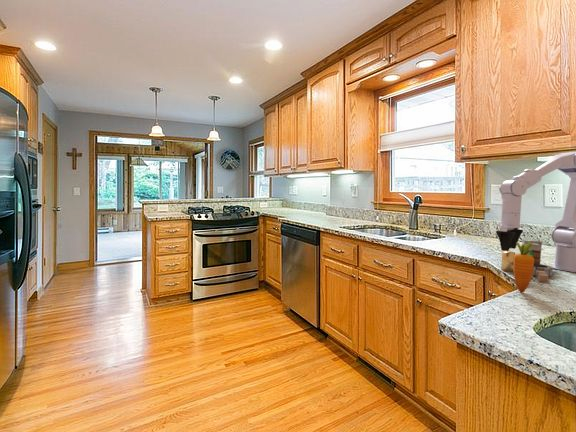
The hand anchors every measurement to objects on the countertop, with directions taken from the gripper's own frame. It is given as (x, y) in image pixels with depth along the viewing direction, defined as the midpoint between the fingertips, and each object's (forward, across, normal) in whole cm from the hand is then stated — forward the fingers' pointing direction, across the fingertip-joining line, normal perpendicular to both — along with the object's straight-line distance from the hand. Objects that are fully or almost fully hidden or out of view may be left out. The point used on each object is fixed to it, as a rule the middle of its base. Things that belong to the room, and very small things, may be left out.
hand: (508, 249), depth 121 cm
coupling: (+8, +1, +7) cm, 11 cm away
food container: (+8, -12, +4) cm, 15 cm away
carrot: (+8, +27, +12) cm, 31 cm away
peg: (+8, 0, 0) cm, 8 cm away
